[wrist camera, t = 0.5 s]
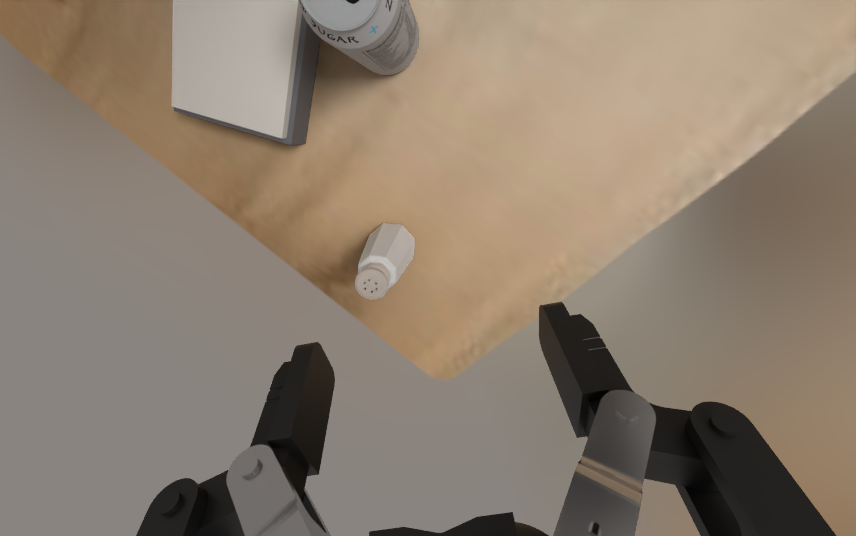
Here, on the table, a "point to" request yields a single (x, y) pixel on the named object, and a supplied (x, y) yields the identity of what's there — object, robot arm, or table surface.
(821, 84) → the table surface
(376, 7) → the energy drink can
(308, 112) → the podium
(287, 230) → the table surface
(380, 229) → the pepper shaker
